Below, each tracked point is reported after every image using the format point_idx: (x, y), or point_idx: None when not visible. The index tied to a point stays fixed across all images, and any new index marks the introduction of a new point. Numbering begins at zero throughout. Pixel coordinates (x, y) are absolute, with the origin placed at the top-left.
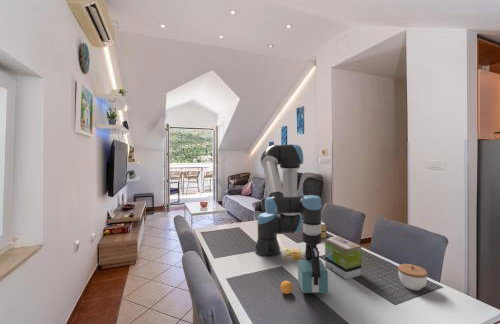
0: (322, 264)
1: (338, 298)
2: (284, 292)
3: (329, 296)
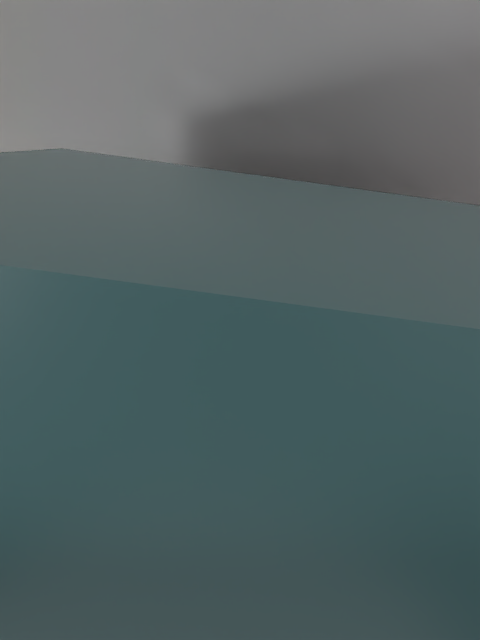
0: (154, 359)
1: (467, 11)
2: None
3: (383, 137)
